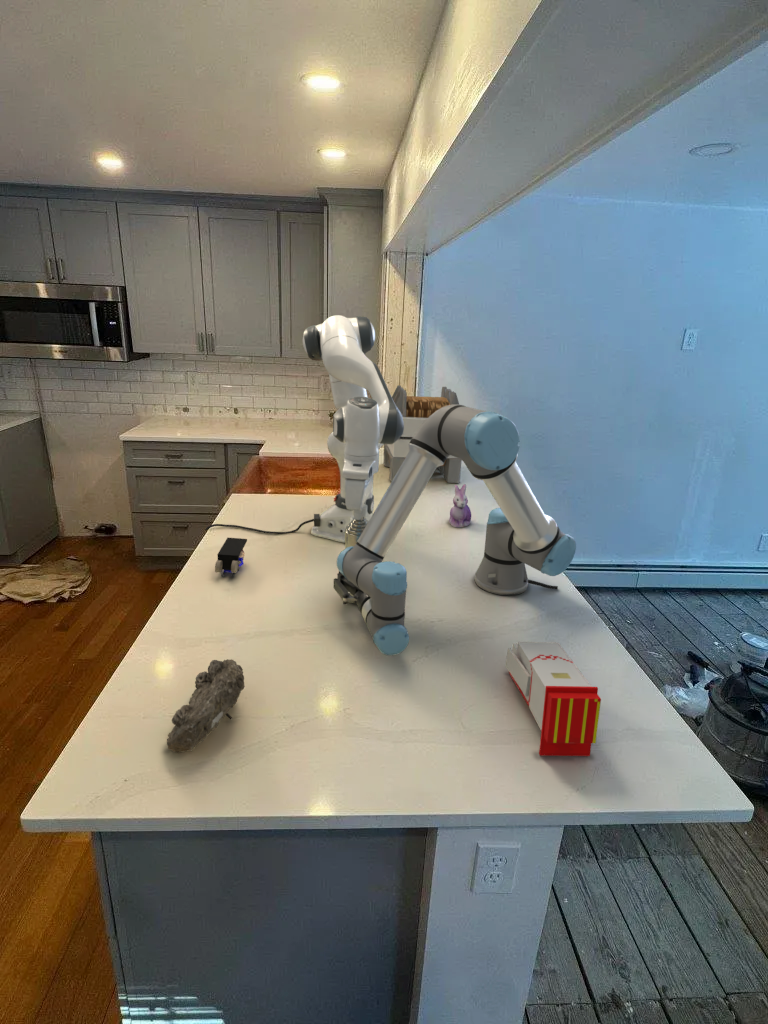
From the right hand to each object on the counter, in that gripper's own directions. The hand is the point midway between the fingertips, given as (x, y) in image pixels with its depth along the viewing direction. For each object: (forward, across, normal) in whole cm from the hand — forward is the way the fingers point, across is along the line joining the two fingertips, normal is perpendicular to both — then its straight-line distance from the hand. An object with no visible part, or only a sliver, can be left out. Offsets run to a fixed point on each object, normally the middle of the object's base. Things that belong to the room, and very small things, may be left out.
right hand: (354, 568), depth 157 cm
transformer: (+111, +58, -6) cm, 125 cm away
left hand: (-5, 0, +18) cm, 18 cm away
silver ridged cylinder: (-5, 0, -6) cm, 8 cm away
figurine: (+43, +50, -6) cm, 67 cm away
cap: (-5, 0, +20) cm, 20 cm away
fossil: (-46, -38, -6) cm, 60 cm away
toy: (-57, +26, -6) cm, 63 cm away
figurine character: (+19, -33, -6) cm, 38 cm away
